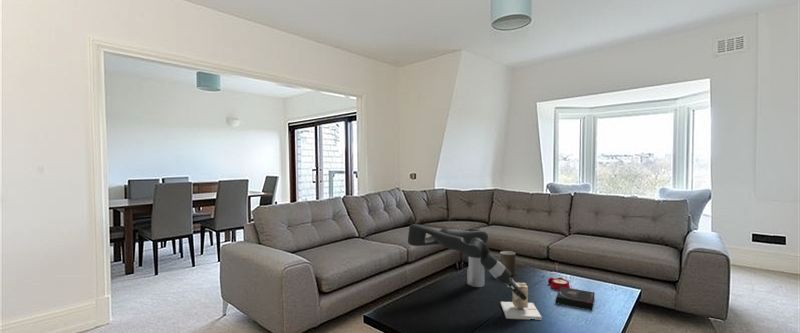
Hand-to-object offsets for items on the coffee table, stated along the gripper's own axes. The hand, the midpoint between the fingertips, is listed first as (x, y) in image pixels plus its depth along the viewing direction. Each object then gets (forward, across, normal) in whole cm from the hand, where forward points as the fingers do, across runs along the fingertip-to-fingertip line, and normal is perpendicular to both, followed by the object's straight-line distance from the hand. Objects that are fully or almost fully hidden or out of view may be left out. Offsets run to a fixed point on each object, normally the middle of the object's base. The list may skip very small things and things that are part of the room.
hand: (523, 296), depth 178 cm
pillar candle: (+8, -58, -4) cm, 58 cm away
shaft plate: (+4, 0, -7) cm, 8 cm away
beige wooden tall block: (+2, 0, -4) cm, 5 cm away
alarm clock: (+26, -37, +14) cm, 47 cm away
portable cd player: (+27, -16, +15) cm, 35 cm away
